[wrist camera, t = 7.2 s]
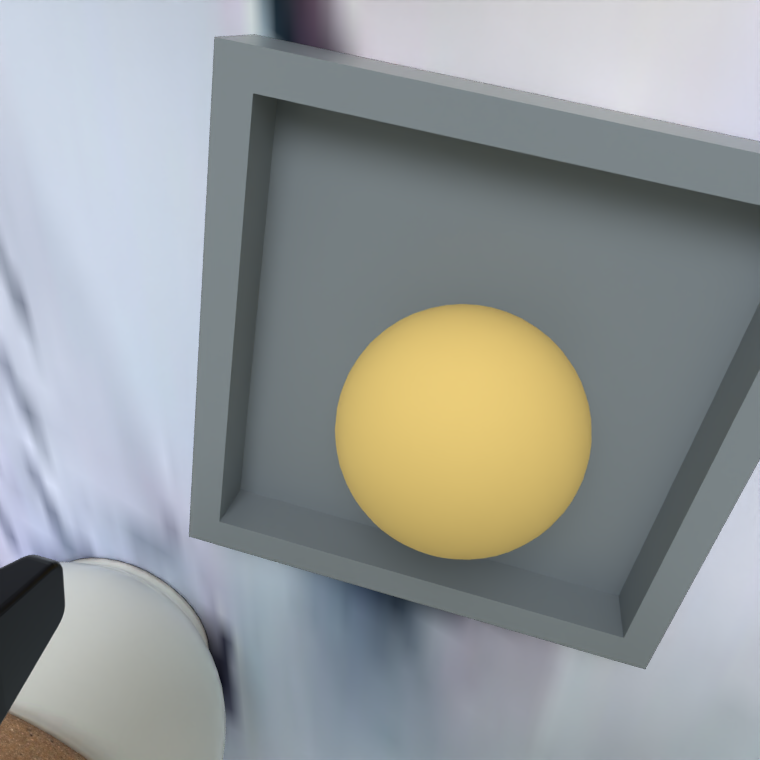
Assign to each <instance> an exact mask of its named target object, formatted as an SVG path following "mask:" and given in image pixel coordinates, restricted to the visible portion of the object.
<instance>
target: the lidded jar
mask: <svg viewBox="0 0 760 760" xmlns="http://www.w3.org/2000/svg"><path fill="white" fill-rule="evenodd" d="M59 563H60V564H61V566H62V568H63V577H64V592H65V611H64V614H63V617H62V620H61V622H60V624H59V626H58V628H57V629H56V631H55V633H54V634H53V636H52V638H51V640H50V641H49V643H48V645H47V646H46V648H45V650H44V652H43V653H42V655H41V657H40V658H39V660H38V662H37V664H36V665H35V667H34V669H33V670H32V672H31V674H30V676H29V677H28V679H27V681H26V682H25V684H24V686H23V688H22V689H21V691H20V693H19V694H18V696H17V698H16V700H15V701H14V703H13V705H12V706H11V708H10V710H9V712H8V713H7V715H6V717H5V718H4V720H3V721H2V723H1V725H0V760H223V755H224V747H225V731H226V715H225V705H224V698H223V691H222V685H221V681H220V678H219V675H218V672H217V669H216V666H215V663H214V660H213V657H212V655H211V653H210V651H209V645H208V639H207V635H206V632H205V629H204V627H203V625H202V623H201V621H200V619H199V617H198V616H197V614H196V613H195V611H194V610H193V608H192V607H191V606H190V605H189V604H188V603H187V602H186V600H185V599H184V598H183V597H182V596H181V595H180V594H179V593H177V592H176V591H175V590H174V589H173V588H172V587H170V586H169V585H168V584H166V583H165V582H163V581H162V580H161V579H159V578H157V577H156V576H154V575H152V574H150V573H149V572H147V571H145V570H142V569H140V568H138V567H136V566H133V565H130V564H127V563H124V562H121V561H117V560H111V559H106V558H83V559H78V560H74V561H70V562H59Z"/></svg>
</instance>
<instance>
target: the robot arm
mask: <svg viewBox="0 0 760 760" xmlns="http://www.w3.org/2000/svg"><path fill="white" fill-rule="evenodd" d="M64 611H65V592H64V577H63V568H62V566H61V564H60V563H59V562H57V561H55V560H51V559H48V558H45V557H41V556H38V555H28V556H25V557H22V558H20V559H18V560H16V561H14V562H12V563H10V564H8V565H6V566H4V567H2V568H0V725H1V723H2V721H3V720H4V718H5V717H6V715H7V713H8V712H9V710H10V708H11V706H12V705H13V703H14V701H15V700H16V698H17V696H18V694H19V693H20V691H21V689H22V688H23V686H24V684H25V682H26V681H27V679H28V677H29V676H30V674H31V672H32V670H33V669H34V667H35V665H36V664H37V662H38V660H39V658H40V657H41V655H42V653H43V652H44V650H45V648H46V646H47V645H48V643H49V641H50V640H51V638H52V636H53V634H54V633H55V631H56V629H57V628H58V626H59V624H60V622H61V620H62V617H63V614H64Z"/></svg>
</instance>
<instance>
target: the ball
mask: <svg viewBox="0 0 760 760" xmlns="http://www.w3.org/2000/svg"><path fill="white" fill-rule="evenodd" d="M335 440H336V449H337V455H338V460H339V465H340V468H341V471H342V473H343V476H344V479H345V481H346V483H347V486H348V488H349V490H350V492H351V493H352V495H353V497H354V499H355V500H356V502H357V503H358V505H359V506H360V507H361V509H362V510H363V511H364V512H365V513H366V515H367V516H368V517H369V518H370V519H371V520H372V521H373V523H375V524H376V525H377V526H378V527H379V528H380V529H381V530H382V531H384V532H385V533H386V534H388V535H389V536H391V537H392V538H393V539H395V540H397V541H398V542H400V543H402V544H404V545H406V546H408V547H410V548H412V549H415V550H417V551H419V552H422V553H425V554H428V555H432V556H436V557H441V558H448V559H463V560H471V559H482V558H488V557H493V556H498V555H501V554H504V553H507V552H510V551H512V550H515V549H517V548H519V547H521V546H523V545H525V544H527V543H529V542H530V541H532V540H533V539H535V538H537V537H538V536H540V535H541V534H542V533H543V532H545V531H546V530H547V529H548V528H550V527H551V526H552V524H553V523H554V522H555V521H556V520H557V519H558V518H559V517H560V516H561V515H562V514H563V513H564V512H565V510H566V509H567V508H568V506H569V505H570V503H571V502H572V500H573V499H574V497H575V495H576V493H577V491H578V489H579V487H580V485H581V483H582V481H583V478H584V475H585V472H586V469H587V465H588V461H589V457H590V450H591V443H592V436H591V415H590V410H589V404H588V401H587V397H586V394H585V391H584V388H583V385H582V382H581V380H580V378H579V376H578V375H577V373H576V371H575V369H574V367H573V366H572V364H571V363H570V361H569V360H568V358H567V357H566V356H565V354H564V353H563V351H562V350H561V349H560V348H559V347H558V346H557V345H556V344H555V343H554V342H553V341H552V340H551V339H550V338H549V337H548V336H547V335H545V334H544V333H543V332H542V331H540V330H539V329H538V328H536V327H535V326H533V325H532V324H530V323H528V322H527V321H525V320H523V319H522V318H520V317H517V316H515V315H513V314H511V313H508V312H506V311H502V310H499V309H496V308H492V307H487V306H481V305H472V304H454V305H444V306H439V307H434V308H429V309H426V310H423V311H420V312H417V313H414V314H412V315H409V316H407V317H405V318H403V319H401V320H399V321H398V322H396V323H395V324H393V325H392V326H390V327H389V328H387V329H386V330H385V331H383V332H382V333H381V334H380V335H379V336H377V337H376V338H375V339H374V340H373V341H372V342H371V343H370V344H369V345H368V346H367V347H366V349H365V350H364V351H363V352H362V353H361V355H360V356H359V358H358V359H357V360H356V362H355V364H354V365H353V367H352V369H351V370H350V372H349V374H348V376H347V379H346V381H345V383H344V386H343V388H342V391H341V394H340V398H339V402H338V406H337V413H336V424H335Z"/></svg>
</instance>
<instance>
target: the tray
mask: <svg viewBox="0 0 760 760" xmlns="http://www.w3.org/2000/svg"><path fill="white" fill-rule="evenodd" d="M454 304H472V305H481V306H487V307H492V308H496V309H499V310H502V311H506V312H508V313H511V314H513V315H515V316H517V317H520V318H522V319H523V320H525V321H527V322H528V323H530V324H532V325H533V326H535V327H536V328H538V329H539V330H540V331H542V332H543V333H544V334H545V335H547V336H548V337H549V338H550V339H551V340H552V341H553V342H554V343H555V344H556V345H557V346H558V347H559V348H560V349H561V350H562V351H563V353H564V354H565V356H566V357H567V358H568V360H569V361H570V363H571V364H572V366H573V367H574V369H575V371H576V373H577V375H578V376H579V378H580V380H581V382H582V385H583V388H584V391H585V394H586V397H587V401H588V404H589V410H590V415H591V436H592V443H591V450H590V457H589V461H588V465H587V469H586V472H585V475H584V478H583V481H582V483H581V485H580V487H579V489H578V491H577V493H576V495H575V497H574V499H573V500H572V502H571V503H570V505H569V506H568V508H567V509H566V510H565V512H564V513H563V514H562V515H561V516H560V517H559V518H558V519H557V520H556V521H555V522H554V523H553V524H552V526H551V527H550V528H548V529H547V530H546V531H545V532H543V533H542V534H541V535H540V536H538V537H537V538H535V539H533V540H532V541H530V542H529V543H527V544H525V545H523V546H521V547H519V548H517V549H515V550H512V551H510V552H507V553H504V554H501V555H498V556H493V557H488V558H482V559H471V560H463V559H448V558H441V557H436V556H432V555H428V554H425V553H422V552H419V551H417V550H415V549H412V548H410V547H408V546H406V545H404V544H402V543H400V542H398V541H397V540H395V539H393V538H392V537H391V536H389V535H388V534H386V533H385V532H384V531H382V530H381V529H380V528H379V527H378V526H377V525H376V524H375V523H373V521H372V520H371V519H370V518H369V517H368V516H367V515H366V513H365V512H364V511H363V510H362V509H361V507H360V506H359V505H358V503H357V502H356V500H355V499H354V497H353V495H352V493H351V492H350V490H349V488H348V486H347V483H346V481H345V479H344V476H343V473H342V471H341V468H340V465H339V460H338V455H337V449H336V440H335V424H336V413H337V406H338V402H339V398H340V394H341V391H342V388H343V386H344V383H345V381H346V379H347V376H348V374H349V372H350V370H351V369H352V367H353V365H354V364H355V362H356V360H357V359H358V358H359V356H360V355H361V353H362V352H363V351H364V350H365V349H366V347H367V346H368V345H369V344H370V343H371V342H372V341H373V340H374V339H375V338H376V337H377V336H379V335H380V334H381V333H382V332H383V331H385V330H386V329H387V328H389V327H390V326H392V325H393V324H395V323H396V322H398V321H399V320H401V319H403V318H405V317H407V316H409V315H412V314H414V313H417V312H420V311H423V310H426V309H429V308H434V307H439V306H444V305H454ZM759 460H760V141H755V140H750V139H745V138H741V137H736V136H731V135H727V134H722V133H717V132H712V131H708V130H703V129H698V128H694V127H689V126H684V125H680V124H675V123H670V122H665V121H661V120H656V119H651V118H647V117H642V116H637V115H632V114H628V113H623V112H618V111H614V110H609V109H604V108H599V107H595V106H590V105H585V104H581V103H576V102H571V101H566V100H562V99H557V98H552V97H548V96H543V95H538V94H533V93H529V92H524V91H519V90H515V89H510V88H505V87H500V86H496V85H491V84H486V83H482V82H477V81H472V80H467V79H463V78H458V77H453V76H449V75H444V74H439V73H434V72H430V71H425V70H420V69H416V68H411V67H406V66H401V65H397V64H392V63H387V62H383V61H378V60H373V59H368V58H364V57H359V56H354V55H350V54H345V53H340V52H335V51H331V50H326V49H321V48H317V47H312V46H307V45H302V44H298V43H293V42H288V41H284V40H279V39H274V38H269V37H265V36H260V35H255V34H254V35H237V36H220V37H215V39H214V59H213V78H212V98H211V117H210V137H209V156H208V175H207V195H206V214H205V234H204V253H203V273H202V292H201V312H200V331H199V350H198V370H197V389H196V409H195V428H194V448H193V467H192V487H191V506H190V525H189V537H193V538H196V539H200V540H203V541H206V542H210V543H213V544H217V545H220V546H224V547H227V548H230V549H234V550H237V551H241V552H244V553H248V554H251V555H254V556H258V557H261V558H265V559H268V560H272V561H275V562H279V563H282V564H285V565H289V566H292V567H296V568H299V569H303V570H306V571H309V572H313V573H316V574H320V575H323V576H327V577H330V578H333V579H337V580H340V581H344V582H347V583H351V584H354V585H357V586H361V587H364V588H368V589H371V590H375V591H378V592H382V593H385V594H388V595H392V596H395V597H399V598H402V599H406V600H409V601H412V602H416V603H419V604H423V605H426V606H430V607H433V608H436V609H440V610H443V611H447V612H450V613H454V614H457V615H460V616H464V617H467V618H471V619H474V620H478V621H481V622H485V623H488V624H491V625H495V626H498V627H502V628H505V629H509V630H512V631H515V632H519V633H522V634H526V635H529V636H533V637H536V638H539V639H543V640H546V641H550V642H553V643H557V644H560V645H563V646H567V647H570V648H574V649H577V650H581V651H584V652H588V653H591V654H594V655H598V656H601V657H605V658H608V659H612V660H615V661H618V662H622V663H625V664H629V665H632V666H636V667H639V668H642V669H646V667H647V665H648V663H649V661H650V660H651V658H652V656H653V654H654V652H655V650H656V649H657V647H658V645H659V643H660V641H661V639H662V638H663V636H664V634H665V632H666V630H667V628H668V627H669V625H670V623H671V621H672V619H673V617H674V616H675V614H676V612H677V610H678V608H679V606H680V605H681V603H682V601H683V599H684V597H685V595H686V594H687V592H688V590H689V588H690V586H691V584H692V583H693V581H694V579H695V577H696V575H697V573H698V572H699V570H700V568H701V566H702V564H703V562H704V561H705V559H706V557H707V555H708V553H709V551H710V550H711V548H712V546H713V544H714V542H715V540H716V539H717V537H718V535H719V533H720V531H721V529H722V528H723V526H724V524H725V522H726V520H727V519H728V517H729V515H730V513H731V511H732V509H733V508H734V506H735V504H736V502H737V500H738V498H739V497H740V495H741V493H742V491H743V489H744V487H745V486H746V484H747V482H748V480H749V478H750V476H751V475H752V473H753V471H754V469H755V467H756V465H757V464H758V462H759Z"/></svg>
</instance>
